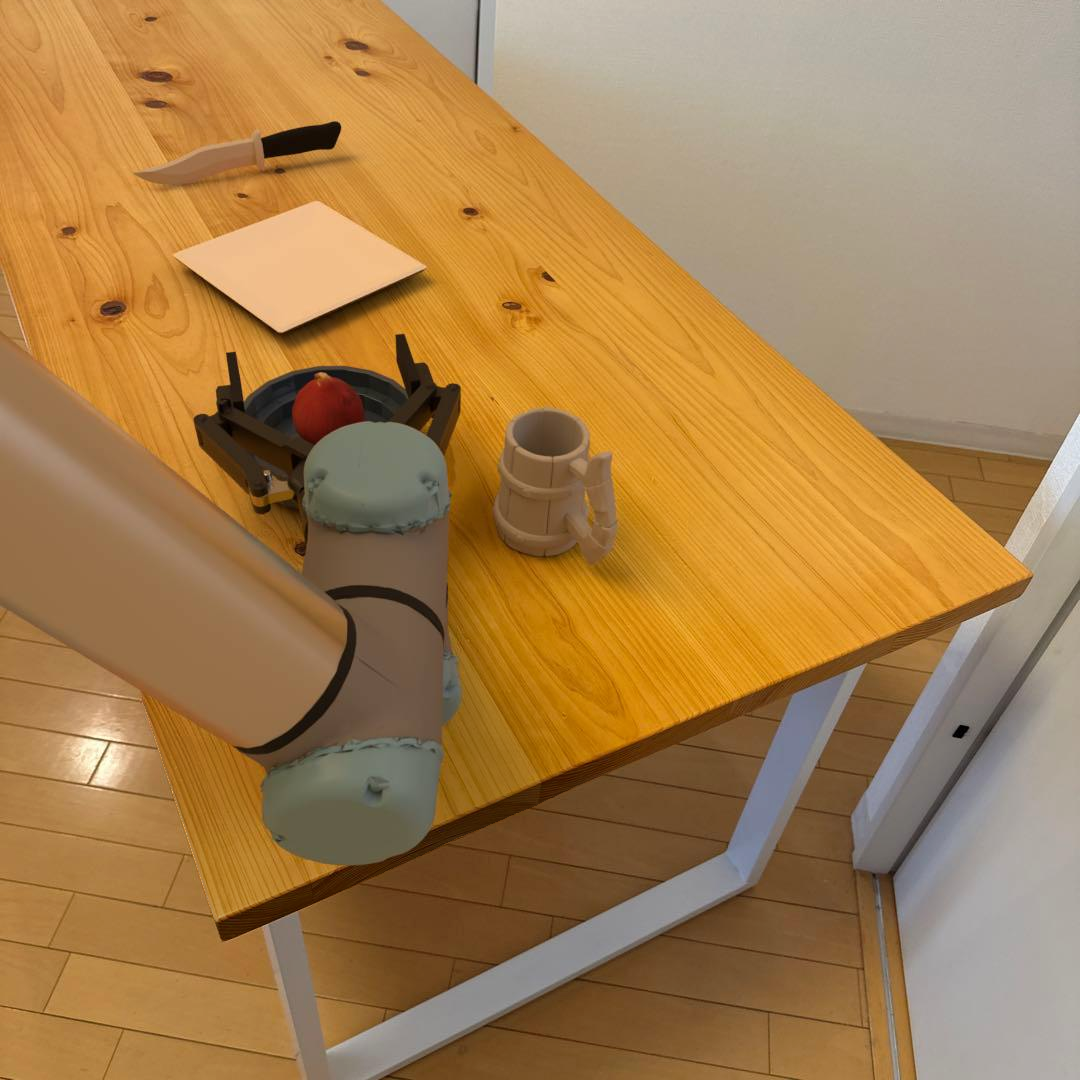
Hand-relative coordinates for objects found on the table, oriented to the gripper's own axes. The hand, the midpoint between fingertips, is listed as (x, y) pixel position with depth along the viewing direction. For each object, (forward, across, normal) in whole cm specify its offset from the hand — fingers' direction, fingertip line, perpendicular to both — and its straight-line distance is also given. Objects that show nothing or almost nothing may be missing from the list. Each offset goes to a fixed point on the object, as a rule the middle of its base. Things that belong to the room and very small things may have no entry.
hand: (318, 356), depth 83 cm
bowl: (-3, 0, -8) cm, 9 cm away
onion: (-3, 0, -8) cm, 8 cm away
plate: (+26, +1, -8) cm, 27 cm away
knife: (+50, -3, -8) cm, 51 cm away
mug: (-17, +16, -8) cm, 25 cm away
